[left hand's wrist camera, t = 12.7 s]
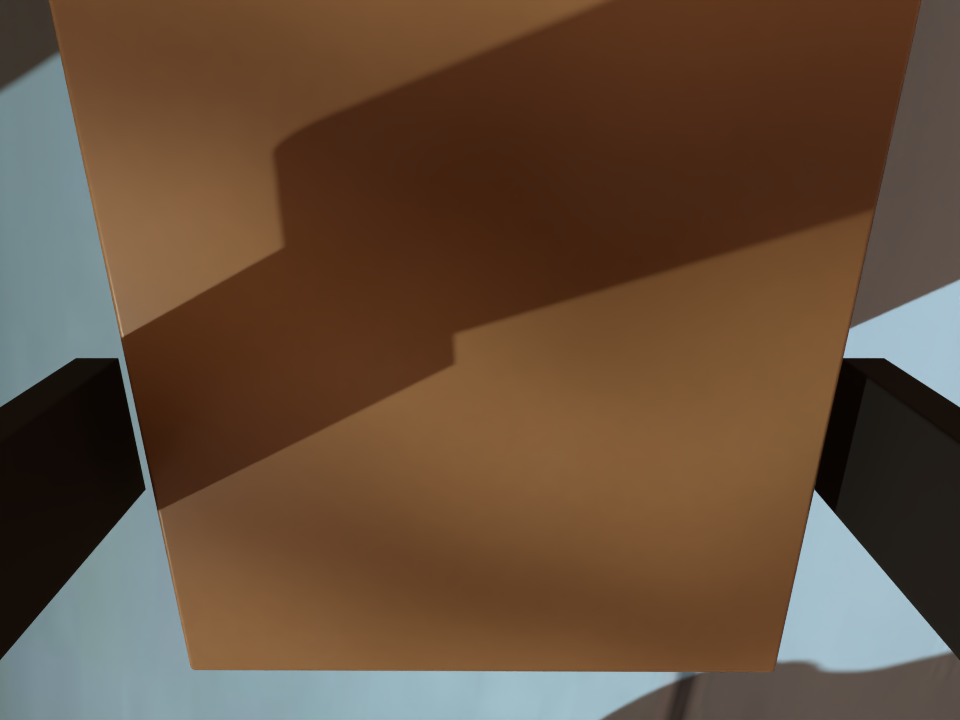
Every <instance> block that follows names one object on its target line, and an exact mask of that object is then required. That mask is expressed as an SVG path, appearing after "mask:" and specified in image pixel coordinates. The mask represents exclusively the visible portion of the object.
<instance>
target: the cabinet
mask: <svg viewBox="0 0 960 720" xmlns="http://www.w3.org/2000/svg"><path fill="white" fill-rule="evenodd" d="M49 4H50V8H51V13H52V18H53V23H54V27H55V32H56V37H57V41H58V46H59V51H60V55H61V60H62V65H63V69H64V74H65V79H66V84H67V88H68V93H69V98H70V102H71V107H72V112H73V116H74V121H75V126H76V131H77V135H78V140H79V145H80V149H81V154H82V159H83V163H84V168H85V173H86V177H87V182H88V187H89V192H90V196H91V201H92V206H93V210H94V215H95V220H96V224H97V229H98V234H99V238H100V243H101V248H102V253H103V257H104V262H105V267H106V271H107V276H108V281H109V285H110V290H111V295H112V300H113V304H114V309H115V314H116V318H117V323H118V328H119V332H120V337H121V342H122V346H123V351H124V356H125V361H126V365H127V370H128V375H129V379H130V384H131V389H132V393H133V398H134V403H135V407H136V412H137V417H138V422H139V426H140V431H141V436H142V440H143V445H144V450H145V454H146V459H147V464H148V469H149V473H150V478H151V483H152V487H153V492H154V497H155V501H156V506H157V511H158V515H159V520H160V525H161V530H162V534H163V539H164V544H165V548H166V553H167V558H168V562H169V567H170V572H171V576H172V581H173V586H174V591H175V595H176V600H177V605H178V609H179V614H180V619H181V623H182V628H183V633H184V638H185V642H186V647H187V652H188V656H189V661H190V666H191V668H192V669H194V670H347V671H611V672H772V671H774V670H775V666H776V661H777V657H778V652H779V648H780V643H781V638H782V634H783V629H784V625H785V620H786V616H787V611H788V607H789V602H790V597H791V593H792V588H793V584H794V579H795V575H796V570H797V565H798V561H799V556H800V552H801V547H802V543H803V538H804V534H805V529H806V524H807V520H808V515H809V511H810V506H811V502H812V497H813V492H814V488H815V483H816V479H817V474H818V470H819V465H820V461H821V456H822V451H823V447H824V442H825V438H826V433H827V429H828V424H829V419H830V415H831V410H832V406H833V401H834V397H835V392H836V388H837V383H838V378H839V374H840V369H841V365H842V360H843V356H844V351H845V346H846V342H847V337H848V333H849V328H850V324H851V319H852V315H853V310H854V305H855V301H856V296H857V292H858V287H859V283H860V278H861V273H862V269H863V264H864V260H865V255H866V251H867V246H868V242H869V237H870V232H871V228H872V223H873V219H874V214H875V210H876V205H877V200H878V196H879V191H880V187H881V182H882V178H883V173H884V168H885V164H886V159H887V155H888V150H889V146H890V141H891V137H892V132H893V127H894V123H895V118H896V114H897V109H898V105H899V100H900V95H901V91H902V86H903V82H904V77H905V73H906V68H907V64H908V59H909V54H910V50H911V45H912V41H913V36H914V32H915V27H916V22H917V18H918V13H919V9H920V4H921V0H49Z"/></svg>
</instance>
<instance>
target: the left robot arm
mask: <svg viewBox="0 0 960 720" xmlns="http://www.w3.org/2000/svg"><path fill="white" fill-rule="evenodd" d="M144 491H145V484H144V479H143V474H142V470H141V465H140V460H139V455H138V451H137V446H136V441H135V436H134V431H133V427H132V422H131V417H130V412H129V407H128V403H127V398H126V393H125V388H124V384H123V379H122V374H121V369H120V364H119V360H118V358H76V359H74V360H73V361H71V362H69V363H68V364H66V365H65V366H63V367H62V368H60V369H59V370H57V371H56V372H54V373H52V374H51V375H49V376H48V377H46V378H45V379H43V380H42V381H40V382H39V383H37V384H35V385H34V386H32V387H31V388H29V389H28V390H26V391H25V392H23V393H22V394H20V395H18V396H17V397H15V398H14V399H12V400H11V401H9V402H8V403H6V404H5V405H3V406H2V407H0V660H1V658H2V657H3V656H4V655H5V654H6V653H7V651H8V650H9V649H10V648H11V647H12V646H13V644H14V643H15V642H16V641H17V640H18V639H19V637H20V636H21V635H22V634H23V633H24V631H25V630H26V629H27V628H28V627H29V626H30V624H31V623H32V622H33V621H34V620H35V619H36V617H37V616H38V615H39V614H40V613H41V612H42V610H43V609H44V608H45V607H46V606H47V604H48V603H49V602H50V601H51V600H52V599H53V597H54V596H55V595H56V594H57V593H58V592H59V590H60V589H61V588H62V587H63V586H64V585H65V583H66V582H67V581H68V580H69V579H70V577H71V576H72V575H73V574H74V573H75V572H76V570H77V569H78V568H79V567H80V566H81V565H82V563H83V562H84V561H85V560H86V559H87V558H88V556H89V555H90V554H91V553H92V552H93V550H94V549H95V548H96V547H97V546H98V545H99V543H100V542H101V541H102V540H103V539H104V538H105V536H106V535H107V534H108V533H109V532H110V530H111V529H112V528H113V527H114V526H115V525H116V523H117V522H118V521H119V520H120V519H121V518H122V516H123V515H124V514H125V513H126V512H127V511H128V509H129V508H130V507H131V506H132V505H133V503H134V502H135V501H136V500H137V499H138V498H139V496H140V495H141V494H142V493H143V492H144ZM815 491H816V492H817V493H818V494H819V495H820V496H821V498H822V499H823V500H824V501H825V502H826V503H827V505H828V506H829V507H830V508H831V509H832V511H833V512H834V513H835V514H836V515H837V516H838V518H839V519H840V520H841V521H842V522H843V523H844V525H845V526H846V527H847V528H848V529H849V530H850V532H851V533H852V534H853V535H854V536H855V538H856V539H857V540H858V541H859V542H860V543H861V545H862V546H863V547H864V548H865V549H866V550H867V552H868V553H869V554H870V555H871V556H872V558H873V559H874V560H875V561H876V562H877V563H878V565H879V566H880V567H881V568H882V569H883V570H884V572H885V573H886V574H887V575H888V576H889V577H890V579H891V580H892V581H893V582H894V583H895V585H896V586H897V587H898V588H899V589H900V590H901V592H902V593H903V594H904V595H905V596H906V597H907V599H908V600H909V601H910V602H911V603H912V604H913V606H914V607H915V608H916V609H917V610H918V612H919V613H920V614H921V615H922V616H923V617H924V619H925V620H926V621H927V622H928V623H929V624H930V626H931V627H932V628H933V629H934V630H935V631H936V633H937V634H938V635H939V636H940V637H941V639H942V640H943V641H944V642H945V643H946V644H947V646H948V647H949V648H950V649H951V650H952V651H953V653H954V654H955V655H956V656H957V657H958V658H959V660H960V407H958V406H957V405H955V404H954V403H952V402H951V401H949V400H948V399H946V398H945V397H943V396H942V395H940V394H938V393H937V392H935V391H934V390H932V389H931V388H929V387H928V386H926V385H925V384H923V383H921V382H920V381H918V380H917V379H915V378H914V377H912V376H911V375H909V374H908V373H906V372H904V371H903V370H901V369H900V368H898V367H897V366H895V365H894V364H892V363H891V362H889V361H887V360H886V359H884V358H843V360H842V365H841V369H840V374H839V378H838V383H837V388H836V392H835V397H834V401H833V406H832V410H831V415H830V419H829V424H828V429H827V433H826V438H825V442H824V447H823V451H822V456H821V461H820V465H819V470H818V474H817V479H816V484H815Z"/></svg>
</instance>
